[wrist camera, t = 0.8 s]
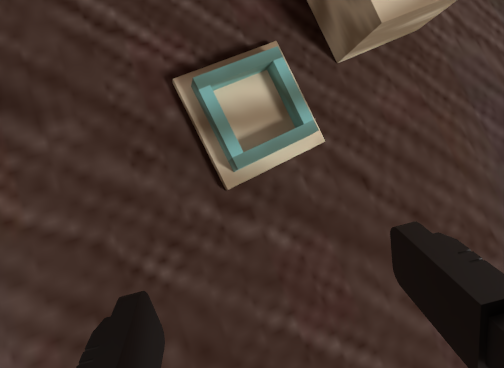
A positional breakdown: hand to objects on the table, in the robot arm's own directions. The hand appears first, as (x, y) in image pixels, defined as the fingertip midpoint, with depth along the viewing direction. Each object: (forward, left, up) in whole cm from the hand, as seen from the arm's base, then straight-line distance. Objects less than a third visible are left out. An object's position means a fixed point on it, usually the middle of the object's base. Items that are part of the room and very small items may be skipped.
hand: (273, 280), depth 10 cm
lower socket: (-9, +10, -22) cm, 26 cm away
